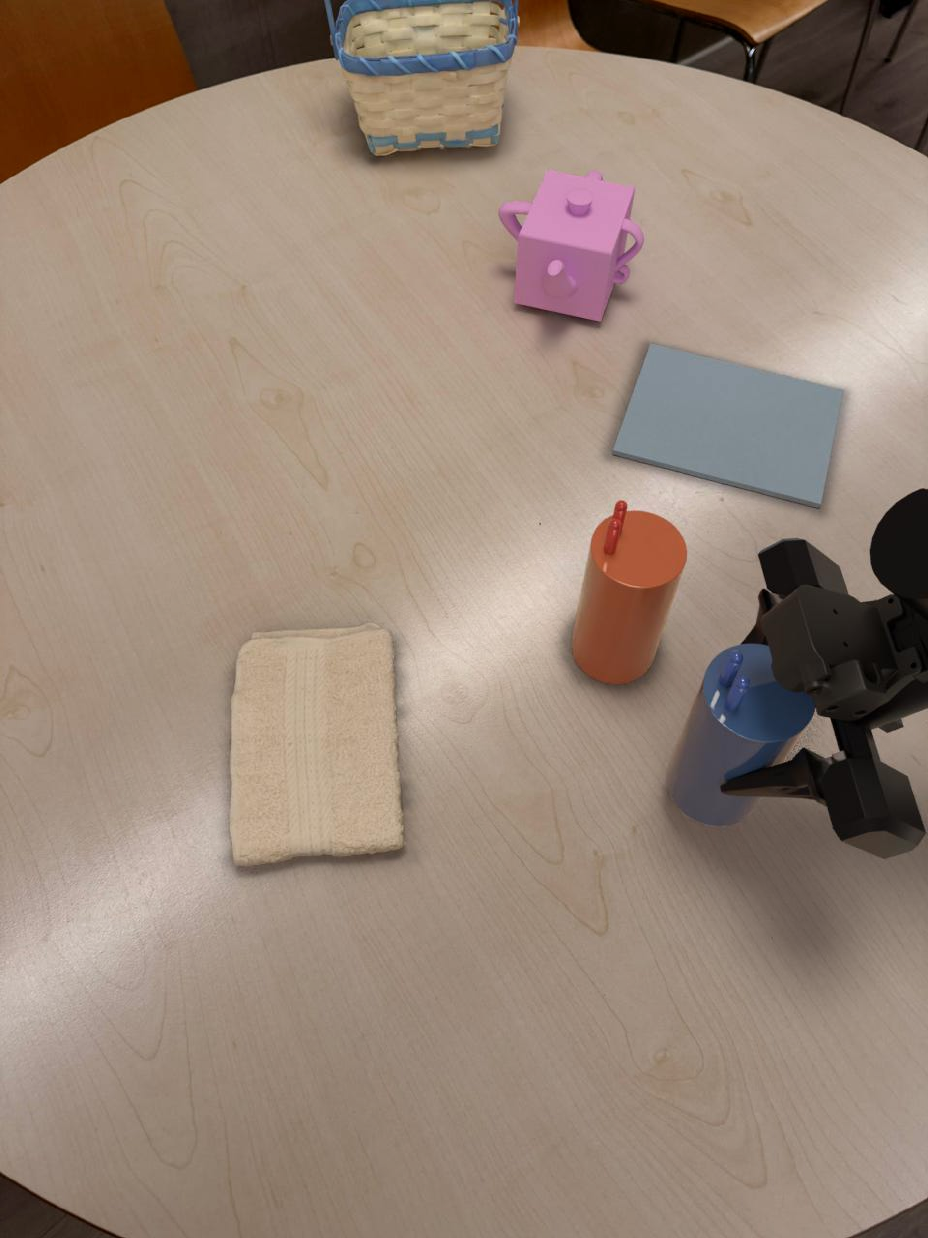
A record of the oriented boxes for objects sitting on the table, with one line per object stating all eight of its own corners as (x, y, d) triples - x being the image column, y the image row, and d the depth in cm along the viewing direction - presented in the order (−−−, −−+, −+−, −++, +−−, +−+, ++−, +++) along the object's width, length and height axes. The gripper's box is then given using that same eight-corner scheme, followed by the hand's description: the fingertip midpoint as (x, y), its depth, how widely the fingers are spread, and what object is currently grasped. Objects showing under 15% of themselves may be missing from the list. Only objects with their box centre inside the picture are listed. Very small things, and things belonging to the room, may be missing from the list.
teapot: (610, 367, 95) (626, 278, 86) (467, 335, 97) (468, 245, 88) (649, 247, 104) (667, 155, 96) (518, 219, 106) (524, 128, 98)
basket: (509, 84, 119) (521, -152, 100) (522, 170, 111) (538, -71, 91) (331, 89, 119) (306, -149, 99) (330, 175, 110) (303, -66, 90)
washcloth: (393, 633, 79) (391, 611, 77) (411, 857, 70) (410, 841, 67) (238, 646, 79) (231, 625, 76) (235, 874, 69) (226, 859, 66)
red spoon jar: (662, 626, 80) (706, 495, 66) (643, 694, 77) (685, 571, 63) (583, 603, 81) (610, 469, 67) (561, 670, 78) (584, 543, 64)
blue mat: (841, 394, 93) (844, 389, 93) (819, 508, 86) (821, 503, 86) (649, 347, 96) (650, 342, 96) (611, 454, 89) (612, 449, 89)
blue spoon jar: (749, 736, 71) (816, 611, 58) (770, 823, 68) (846, 713, 54) (658, 741, 71) (704, 618, 58) (674, 829, 68) (727, 720, 54)
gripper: (840, 441, 55) (611, 571, 64) (952, 761, 45) (663, 861, 54) (927, 523, 62) (710, 629, 71) (1042, 815, 52) (772, 896, 61)
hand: (712, 740), depth 64 cm, fingers closed on blue spoon jar, 6 cm apart
